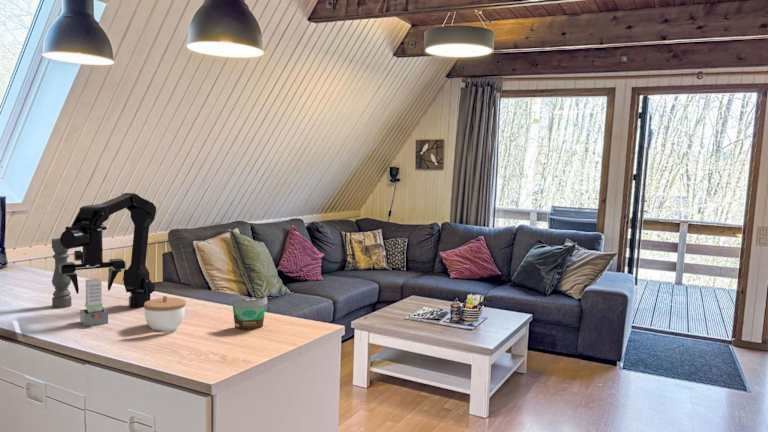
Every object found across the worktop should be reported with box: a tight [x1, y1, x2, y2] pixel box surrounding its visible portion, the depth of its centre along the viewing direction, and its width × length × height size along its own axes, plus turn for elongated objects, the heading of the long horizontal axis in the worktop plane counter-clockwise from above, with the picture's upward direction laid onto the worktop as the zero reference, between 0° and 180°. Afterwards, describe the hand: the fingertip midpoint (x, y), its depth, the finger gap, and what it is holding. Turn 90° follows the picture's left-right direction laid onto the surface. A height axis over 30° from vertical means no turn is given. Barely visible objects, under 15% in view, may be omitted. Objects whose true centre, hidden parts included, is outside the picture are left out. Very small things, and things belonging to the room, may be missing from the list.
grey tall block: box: [84, 278, 103, 314], centre depth 180 cm, size 4×5×10 cm
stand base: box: [79, 306, 109, 327], centre depth 181 cm, size 14×14×5 cm
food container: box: [230, 295, 268, 331], centre depth 183 cm, size 12×6×10 cm, turn 117°
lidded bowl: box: [143, 295, 187, 334], centre depth 179 cm, size 13×13×11 cm
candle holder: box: [51, 237, 72, 309], centre depth 203 cm, size 6×6×25 cm
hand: (93, 291), depth 181 cm, fingers open, 9 cm apart
